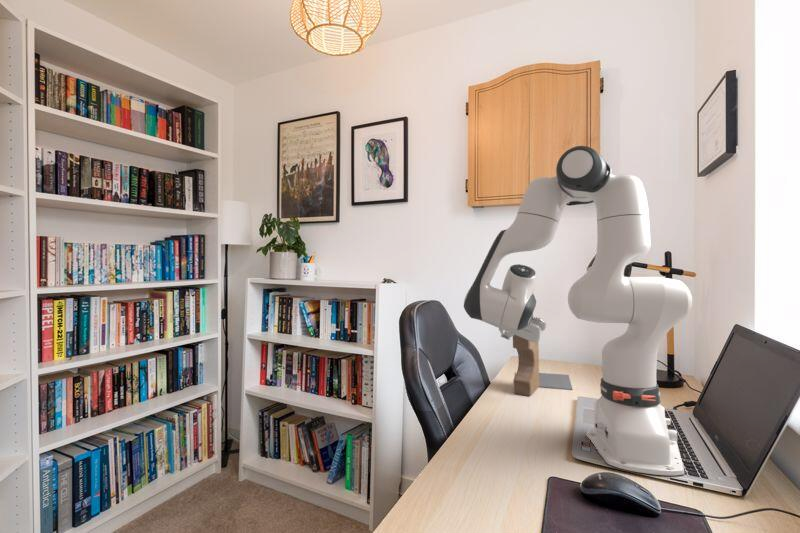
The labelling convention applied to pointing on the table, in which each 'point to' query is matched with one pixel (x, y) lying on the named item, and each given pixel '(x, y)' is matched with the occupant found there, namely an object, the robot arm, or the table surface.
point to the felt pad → (554, 381)
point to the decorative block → (526, 366)
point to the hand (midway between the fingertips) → (505, 337)
